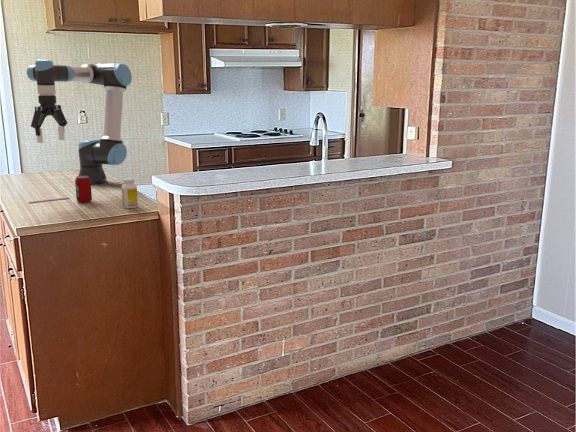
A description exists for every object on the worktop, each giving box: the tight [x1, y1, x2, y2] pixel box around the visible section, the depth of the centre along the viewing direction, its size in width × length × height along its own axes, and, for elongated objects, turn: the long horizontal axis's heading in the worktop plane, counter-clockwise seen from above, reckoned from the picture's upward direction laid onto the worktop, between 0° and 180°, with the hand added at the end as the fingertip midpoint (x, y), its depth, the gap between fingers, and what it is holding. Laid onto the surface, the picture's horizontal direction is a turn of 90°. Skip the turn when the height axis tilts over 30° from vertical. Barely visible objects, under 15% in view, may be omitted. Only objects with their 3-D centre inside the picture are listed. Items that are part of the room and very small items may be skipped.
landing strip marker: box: [28, 197, 70, 204], centre depth 259 cm, size 18×2×1 cm, turn 127°
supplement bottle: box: [121, 177, 139, 209], centre depth 247 cm, size 7×7×13 cm
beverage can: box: [74, 175, 93, 204], centre depth 256 cm, size 7×7×12 cm
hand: (51, 141), depth 258 cm, fingers open, 13 cm apart
